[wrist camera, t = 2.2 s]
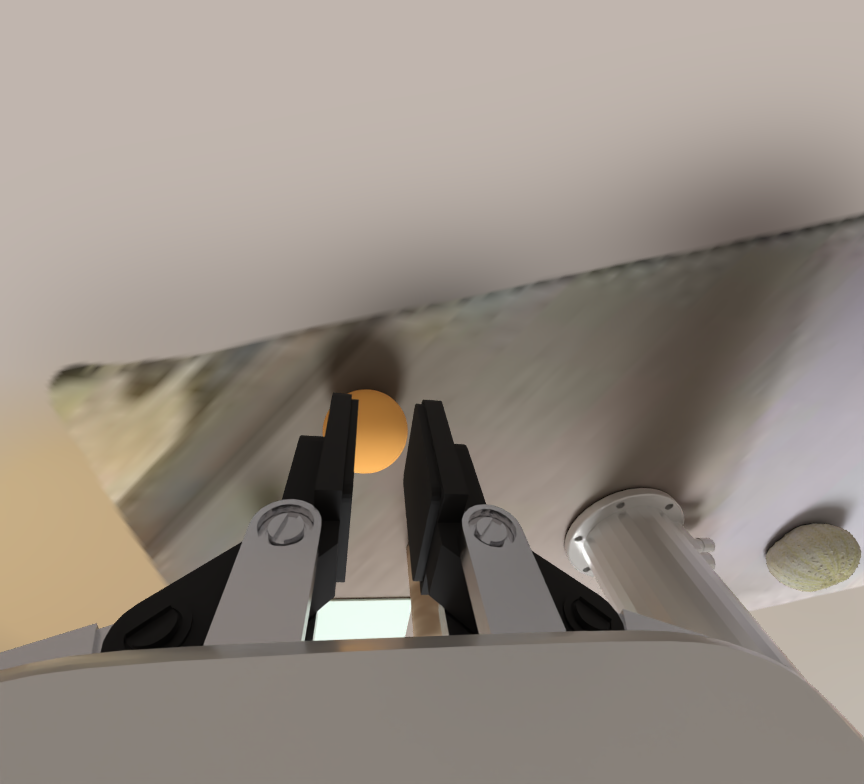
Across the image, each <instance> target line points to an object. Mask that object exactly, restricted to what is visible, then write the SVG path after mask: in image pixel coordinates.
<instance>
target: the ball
mask: <svg viewBox="0 0 864 784" xmlns="http://www.w3.org/2000/svg"><path fill="white" fill-rule="evenodd" d="M348 394H352V399H358V400H359V406H358V420H357V435H356V450H355V464H354V472H356V473H373V472H377V471H380V470H382V469H385V468H386V467H388V466H389V465H391V464H392V463H393V462H394V461H395V460H396V459H397V458H398V457H399V455H400V454H401V452H402V451H403V449H404V446H405V444H406V440H407V433H408V428H407V422H406V418H405V415H404V413H403V411H402V409H401V408H400V406H399V405H398V404H397V403H396V402H395V401H394V400H393V399H392V398H391V397H389V396H388V395H386V394H384V393H382V392H379V391H376V390H370V389H363V390H356V391H353V392H350V393H348ZM329 411H330V409H329ZM329 411H328V413H327V415H326V417H325V420H324V424H323V437H325V432H326V427H327V421H328V416H329Z"/></svg>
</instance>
